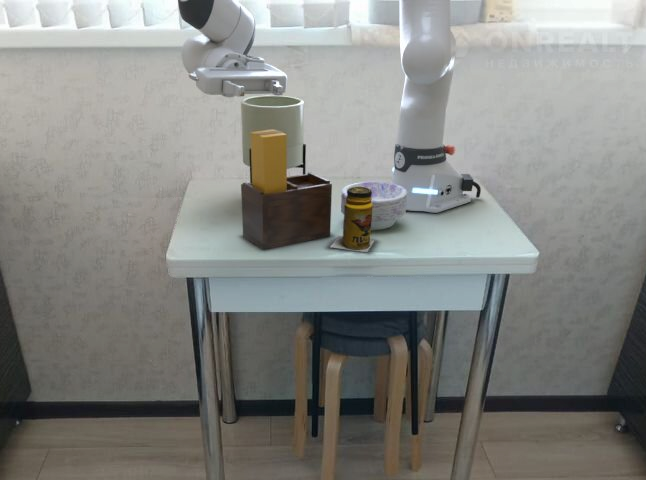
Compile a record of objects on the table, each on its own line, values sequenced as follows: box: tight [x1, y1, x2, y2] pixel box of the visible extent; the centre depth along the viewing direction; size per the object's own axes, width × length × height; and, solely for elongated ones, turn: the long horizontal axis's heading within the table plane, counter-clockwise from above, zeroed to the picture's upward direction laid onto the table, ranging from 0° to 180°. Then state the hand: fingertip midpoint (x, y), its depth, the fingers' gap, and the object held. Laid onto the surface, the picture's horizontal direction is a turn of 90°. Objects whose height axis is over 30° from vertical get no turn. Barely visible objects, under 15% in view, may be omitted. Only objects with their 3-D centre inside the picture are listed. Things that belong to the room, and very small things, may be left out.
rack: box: [240, 171, 333, 250], centre depth 155 cm, size 17×10×12 cm, turn 121°
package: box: [251, 129, 288, 194], centre depth 147 cm, size 6×6×12 cm
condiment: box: [329, 187, 375, 253], centre depth 151 cm, size 7×8×12 cm
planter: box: [240, 94, 307, 183], centre depth 174 cm, size 15×16×23 cm
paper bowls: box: [340, 181, 407, 231], centre depth 163 cm, size 15×15×8 cm
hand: (261, 91), depth 144 cm, fingers open, 8 cm apart
